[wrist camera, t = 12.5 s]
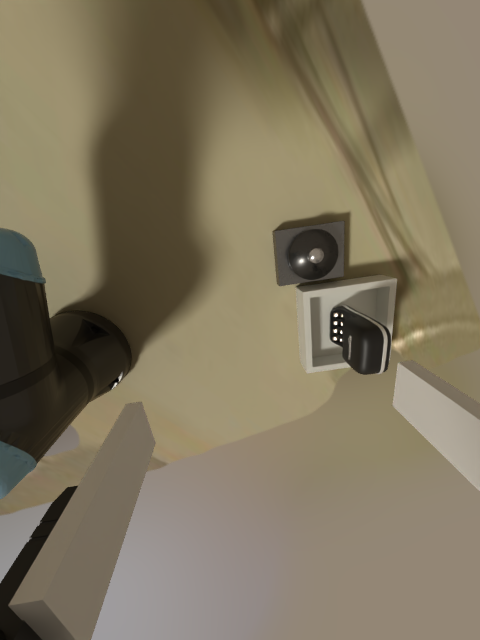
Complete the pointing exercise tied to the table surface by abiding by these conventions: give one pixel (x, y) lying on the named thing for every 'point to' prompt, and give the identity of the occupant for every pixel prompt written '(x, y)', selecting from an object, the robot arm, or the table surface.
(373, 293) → the tray
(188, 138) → the table surface
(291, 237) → the speaker
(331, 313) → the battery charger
